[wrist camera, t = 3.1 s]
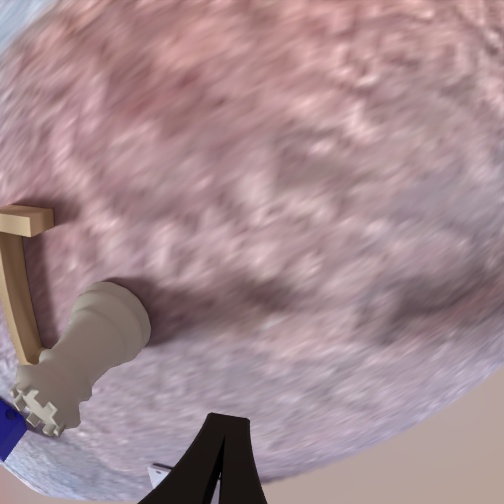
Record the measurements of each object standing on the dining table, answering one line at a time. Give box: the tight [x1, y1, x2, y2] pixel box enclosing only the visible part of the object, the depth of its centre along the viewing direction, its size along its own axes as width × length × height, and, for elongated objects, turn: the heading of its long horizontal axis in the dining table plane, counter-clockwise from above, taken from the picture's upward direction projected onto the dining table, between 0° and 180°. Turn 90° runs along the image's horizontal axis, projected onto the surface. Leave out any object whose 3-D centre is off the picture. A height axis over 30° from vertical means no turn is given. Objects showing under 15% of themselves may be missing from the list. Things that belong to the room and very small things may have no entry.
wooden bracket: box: [0, 204, 54, 366], centre depth 15 cm, size 4×11×2 cm, turn 173°
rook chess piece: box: [10, 282, 151, 437], centre depth 12 cm, size 4×4×8 cm
